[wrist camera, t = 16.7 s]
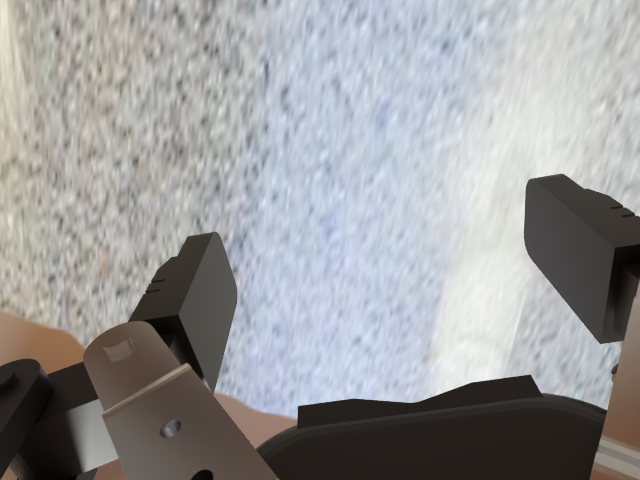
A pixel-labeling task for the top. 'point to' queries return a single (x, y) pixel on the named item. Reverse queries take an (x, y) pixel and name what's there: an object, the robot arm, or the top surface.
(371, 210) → the top surface
